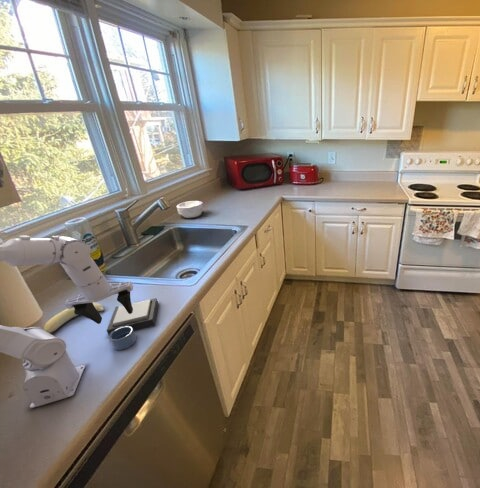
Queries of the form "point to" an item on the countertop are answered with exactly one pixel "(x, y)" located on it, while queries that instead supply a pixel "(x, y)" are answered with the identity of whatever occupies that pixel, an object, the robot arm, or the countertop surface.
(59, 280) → the countertop surface
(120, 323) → the platform
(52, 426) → the countertop surface
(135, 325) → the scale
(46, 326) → the fruit
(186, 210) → the paper bowls
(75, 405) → the countertop surface
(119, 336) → the bowl
